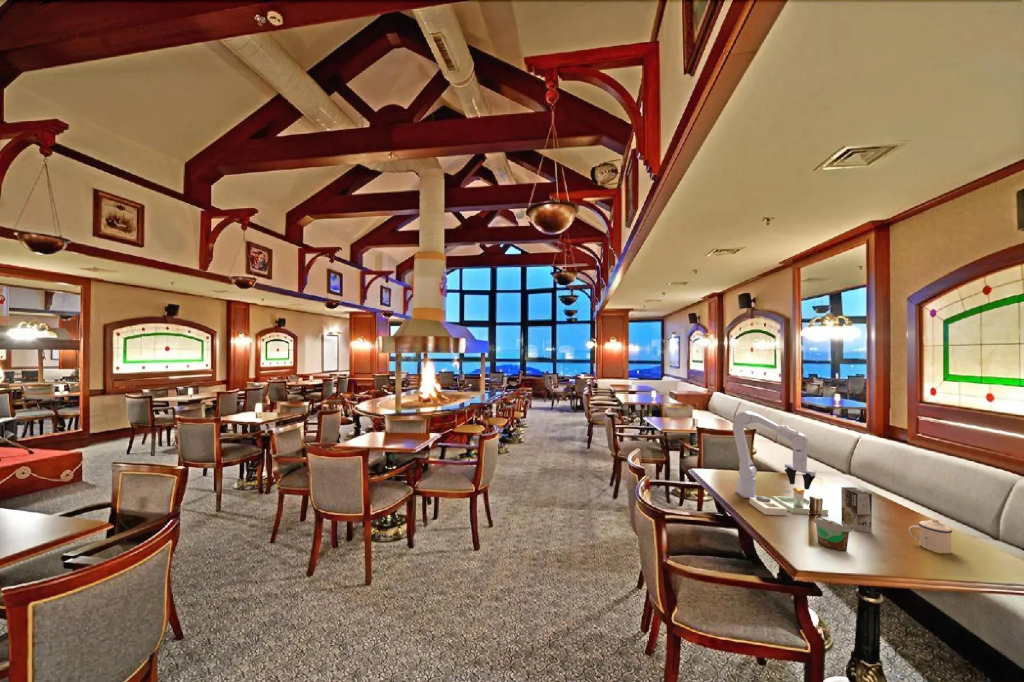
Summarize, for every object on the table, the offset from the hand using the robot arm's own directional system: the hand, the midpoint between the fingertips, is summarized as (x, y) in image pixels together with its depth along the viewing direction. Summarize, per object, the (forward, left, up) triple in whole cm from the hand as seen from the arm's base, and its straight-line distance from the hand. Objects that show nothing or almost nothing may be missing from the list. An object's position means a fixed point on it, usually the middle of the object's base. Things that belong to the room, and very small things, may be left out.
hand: (799, 486), depth 202 cm
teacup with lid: (+38, +26, -10) cm, 47 cm away
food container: (+42, -15, -10) cm, 46 cm away
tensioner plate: (+4, -17, -10) cm, 20 cm away
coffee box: (+21, +11, -10) cm, 26 cm away
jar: (0, -1, -10) cm, 10 cm away
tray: (0, 0, -10) cm, 10 cm away
